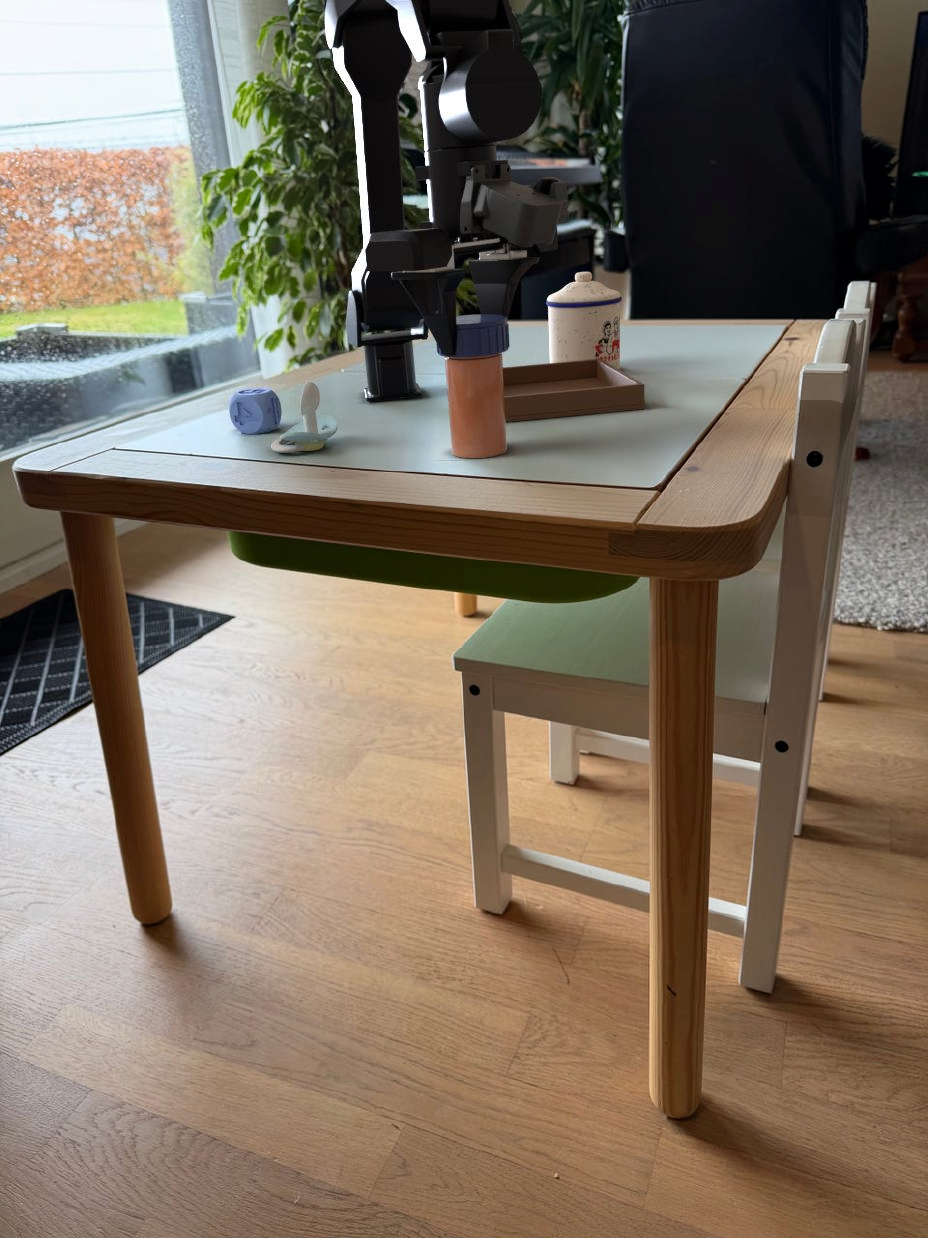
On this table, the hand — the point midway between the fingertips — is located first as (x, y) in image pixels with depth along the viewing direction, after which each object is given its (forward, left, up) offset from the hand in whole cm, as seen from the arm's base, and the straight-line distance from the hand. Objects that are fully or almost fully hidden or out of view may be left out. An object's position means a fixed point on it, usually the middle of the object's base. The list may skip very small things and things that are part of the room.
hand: (472, 349), depth 82 cm
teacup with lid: (-35, +19, -9) cm, 41 cm away
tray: (-19, +11, -9) cm, 24 cm away
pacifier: (-8, -16, -9) cm, 20 cm away
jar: (0, 0, -9) cm, 9 cm away
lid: (0, 0, +2) cm, 2 cm away
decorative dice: (-18, -21, -9) cm, 29 cm away
